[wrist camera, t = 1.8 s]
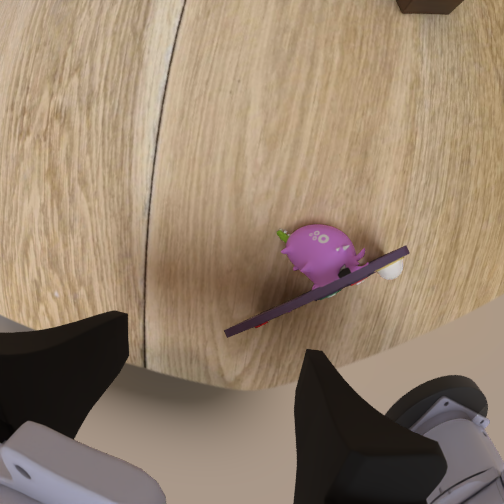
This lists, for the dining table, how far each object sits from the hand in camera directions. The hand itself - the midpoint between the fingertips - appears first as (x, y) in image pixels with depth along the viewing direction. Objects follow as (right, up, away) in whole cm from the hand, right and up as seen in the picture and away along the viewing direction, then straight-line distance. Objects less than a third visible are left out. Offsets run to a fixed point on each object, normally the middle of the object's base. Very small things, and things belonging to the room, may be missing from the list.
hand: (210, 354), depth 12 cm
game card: (+5, +4, +8) cm, 10 cm away
